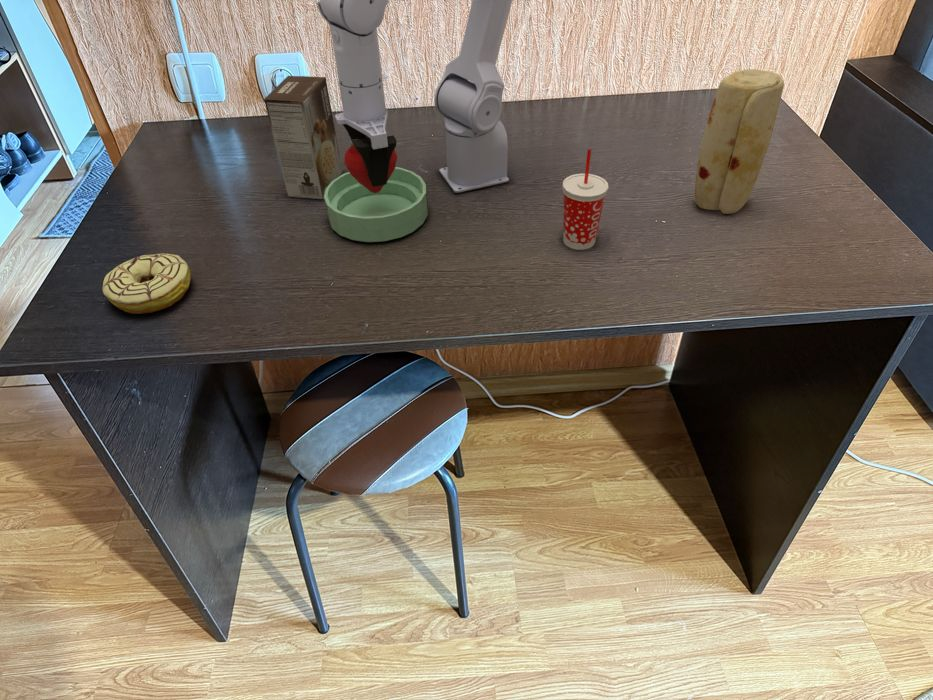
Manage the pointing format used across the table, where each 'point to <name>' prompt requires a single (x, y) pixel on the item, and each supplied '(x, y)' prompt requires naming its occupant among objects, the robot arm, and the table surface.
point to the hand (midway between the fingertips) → (373, 174)
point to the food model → (737, 139)
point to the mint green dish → (377, 207)
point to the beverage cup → (582, 207)
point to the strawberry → (364, 168)
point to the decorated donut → (147, 283)
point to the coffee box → (304, 135)
